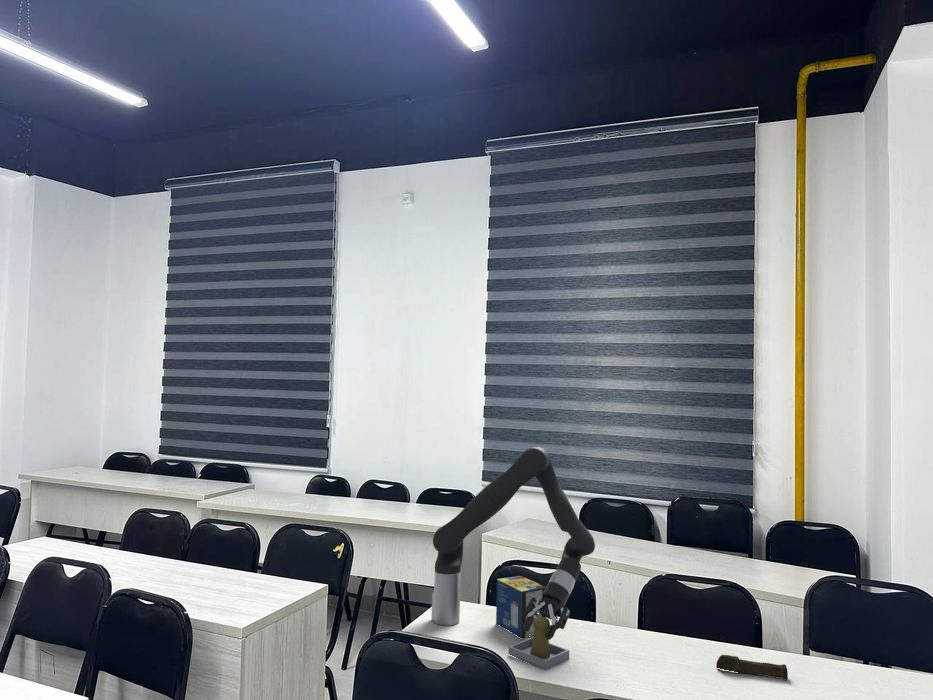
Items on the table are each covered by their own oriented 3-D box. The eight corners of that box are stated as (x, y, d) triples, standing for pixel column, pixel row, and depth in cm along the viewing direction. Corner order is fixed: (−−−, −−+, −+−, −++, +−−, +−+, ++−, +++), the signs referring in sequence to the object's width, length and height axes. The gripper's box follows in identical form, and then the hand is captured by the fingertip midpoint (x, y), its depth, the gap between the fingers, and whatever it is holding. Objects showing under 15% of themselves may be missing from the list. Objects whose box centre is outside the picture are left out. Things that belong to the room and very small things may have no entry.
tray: (508, 655, 190) (508, 646, 190) (533, 645, 198) (533, 637, 199) (544, 670, 180) (545, 661, 180) (569, 659, 188) (569, 650, 189)
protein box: (519, 619, 222) (520, 575, 223) (546, 634, 208) (546, 586, 210) (495, 624, 216) (496, 578, 218) (520, 639, 203) (521, 590, 204)
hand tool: (786, 676, 180) (785, 660, 181) (788, 682, 177) (788, 665, 177) (716, 666, 186) (716, 650, 187) (717, 672, 183) (716, 655, 183)
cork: (537, 660, 186) (539, 622, 186) (526, 652, 191) (527, 615, 192) (554, 657, 188) (555, 619, 189) (542, 649, 194) (543, 613, 194)
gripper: (536, 576, 201) (512, 621, 192) (573, 586, 191) (549, 634, 182) (546, 589, 204) (523, 634, 195) (582, 600, 194) (560, 647, 185)
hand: (536, 634), depth 189 cm, fingers open, 8 cm apart
